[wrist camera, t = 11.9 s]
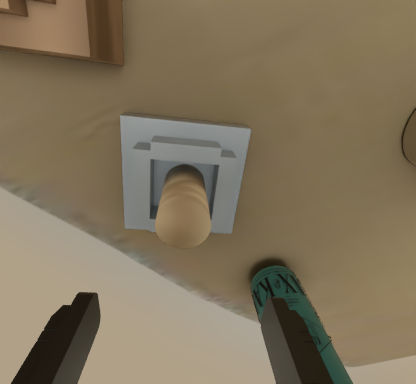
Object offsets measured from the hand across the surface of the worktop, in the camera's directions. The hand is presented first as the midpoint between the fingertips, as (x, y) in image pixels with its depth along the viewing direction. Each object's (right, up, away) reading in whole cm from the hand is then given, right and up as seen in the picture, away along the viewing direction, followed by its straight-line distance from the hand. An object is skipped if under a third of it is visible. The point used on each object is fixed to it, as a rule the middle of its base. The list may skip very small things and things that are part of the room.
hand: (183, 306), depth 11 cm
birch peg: (-1, +6, +13) cm, 14 cm away
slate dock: (-1, +7, +14) cm, 16 cm away
